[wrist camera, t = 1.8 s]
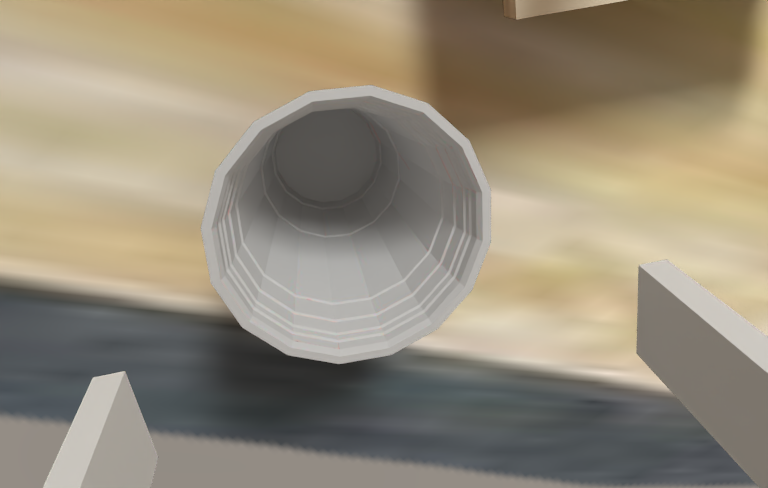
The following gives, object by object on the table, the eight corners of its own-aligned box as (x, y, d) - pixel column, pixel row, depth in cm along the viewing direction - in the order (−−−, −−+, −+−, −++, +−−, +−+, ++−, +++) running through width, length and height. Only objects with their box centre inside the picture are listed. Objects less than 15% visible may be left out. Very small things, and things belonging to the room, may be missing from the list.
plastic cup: (467, 163, 35) (552, 253, 24) (316, 279, 37) (333, 412, 26) (345, -3, 31) (383, 17, 20) (179, 137, 32) (131, 225, 21)
